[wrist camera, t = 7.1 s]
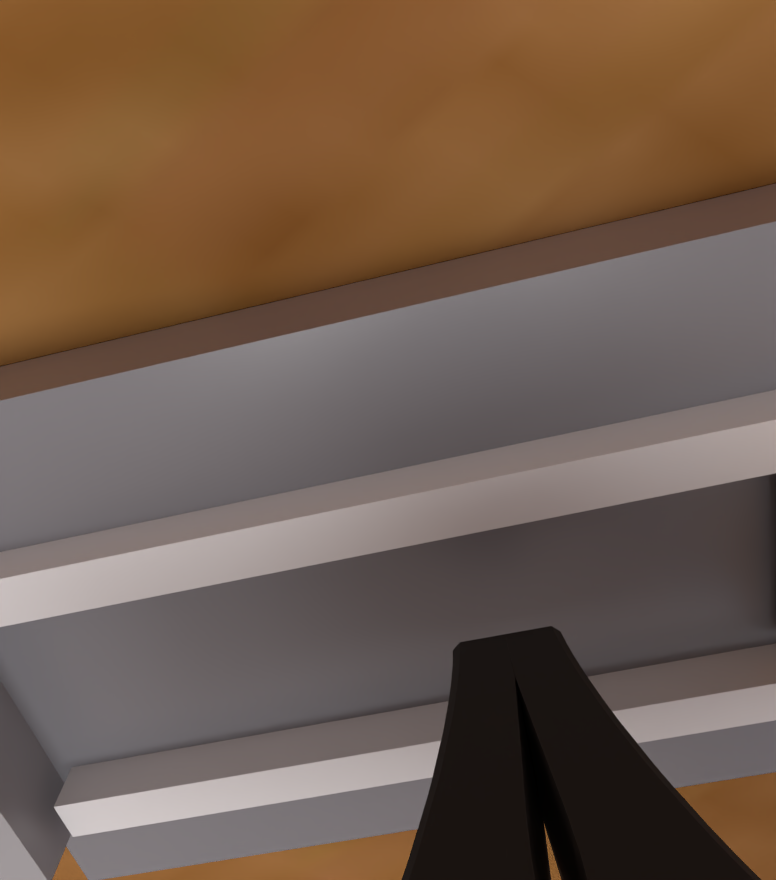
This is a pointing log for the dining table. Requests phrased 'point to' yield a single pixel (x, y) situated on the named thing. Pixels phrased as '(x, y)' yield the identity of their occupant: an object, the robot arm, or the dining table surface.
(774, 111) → the dining table surface
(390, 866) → the dining table surface
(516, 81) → the dining table surface
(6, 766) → the grey flat railed block
